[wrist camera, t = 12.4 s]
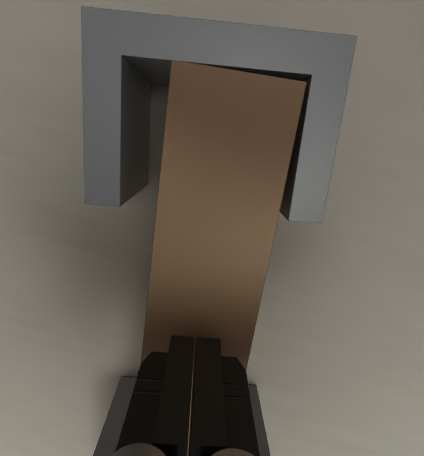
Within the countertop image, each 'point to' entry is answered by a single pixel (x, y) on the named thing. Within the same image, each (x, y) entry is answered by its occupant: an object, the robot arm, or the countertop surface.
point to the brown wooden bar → (218, 204)
